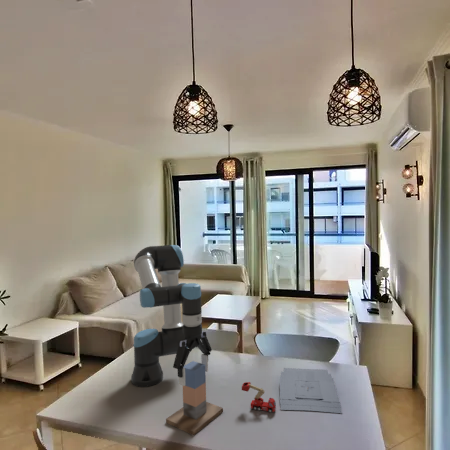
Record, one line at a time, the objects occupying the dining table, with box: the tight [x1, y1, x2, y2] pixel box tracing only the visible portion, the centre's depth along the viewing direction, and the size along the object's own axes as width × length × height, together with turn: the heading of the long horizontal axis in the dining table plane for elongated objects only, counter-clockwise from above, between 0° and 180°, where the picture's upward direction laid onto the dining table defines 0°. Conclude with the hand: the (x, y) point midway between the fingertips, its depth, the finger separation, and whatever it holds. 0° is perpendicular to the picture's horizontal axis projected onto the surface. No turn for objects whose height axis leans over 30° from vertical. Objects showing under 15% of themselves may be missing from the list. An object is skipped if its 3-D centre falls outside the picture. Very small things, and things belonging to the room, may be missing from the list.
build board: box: [165, 399, 224, 436], centre depth 138 cm, size 14×18×6 cm
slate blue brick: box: [183, 360, 207, 389], centre depth 137 cm, size 6×6×7 cm
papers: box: [279, 367, 343, 414], centre depth 154 cm, size 24×30×4 cm
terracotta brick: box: [182, 382, 207, 407], centre depth 137 cm, size 6×6×7 cm
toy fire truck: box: [241, 381, 277, 413], centre depth 142 cm, size 3×14×10 cm, turn 71°
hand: (194, 377), depth 137 cm, fingers open, 13 cm apart
